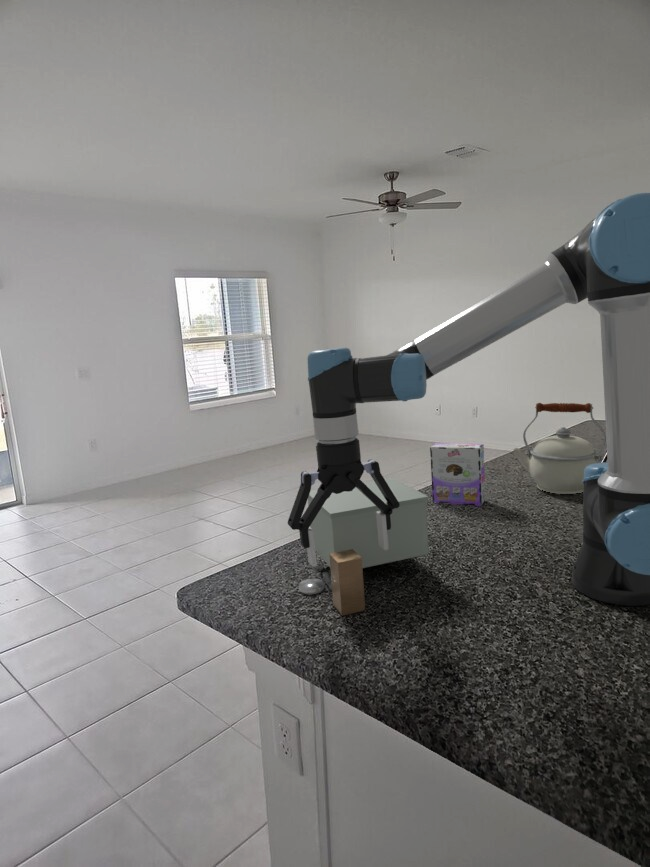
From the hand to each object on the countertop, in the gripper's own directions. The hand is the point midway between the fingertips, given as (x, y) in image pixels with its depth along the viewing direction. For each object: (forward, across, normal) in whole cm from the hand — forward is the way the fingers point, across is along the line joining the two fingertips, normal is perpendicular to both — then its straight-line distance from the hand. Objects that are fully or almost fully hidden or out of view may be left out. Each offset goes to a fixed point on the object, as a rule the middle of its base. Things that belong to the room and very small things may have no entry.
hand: (348, 555), depth 99 cm
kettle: (+12, -79, -40) cm, 89 cm away
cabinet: (+10, -9, -15) cm, 20 cm away
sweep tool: (+10, +1, -6) cm, 12 cm away
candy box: (+11, -48, -43) cm, 65 cm away
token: (+10, +5, -11) cm, 16 cm away
